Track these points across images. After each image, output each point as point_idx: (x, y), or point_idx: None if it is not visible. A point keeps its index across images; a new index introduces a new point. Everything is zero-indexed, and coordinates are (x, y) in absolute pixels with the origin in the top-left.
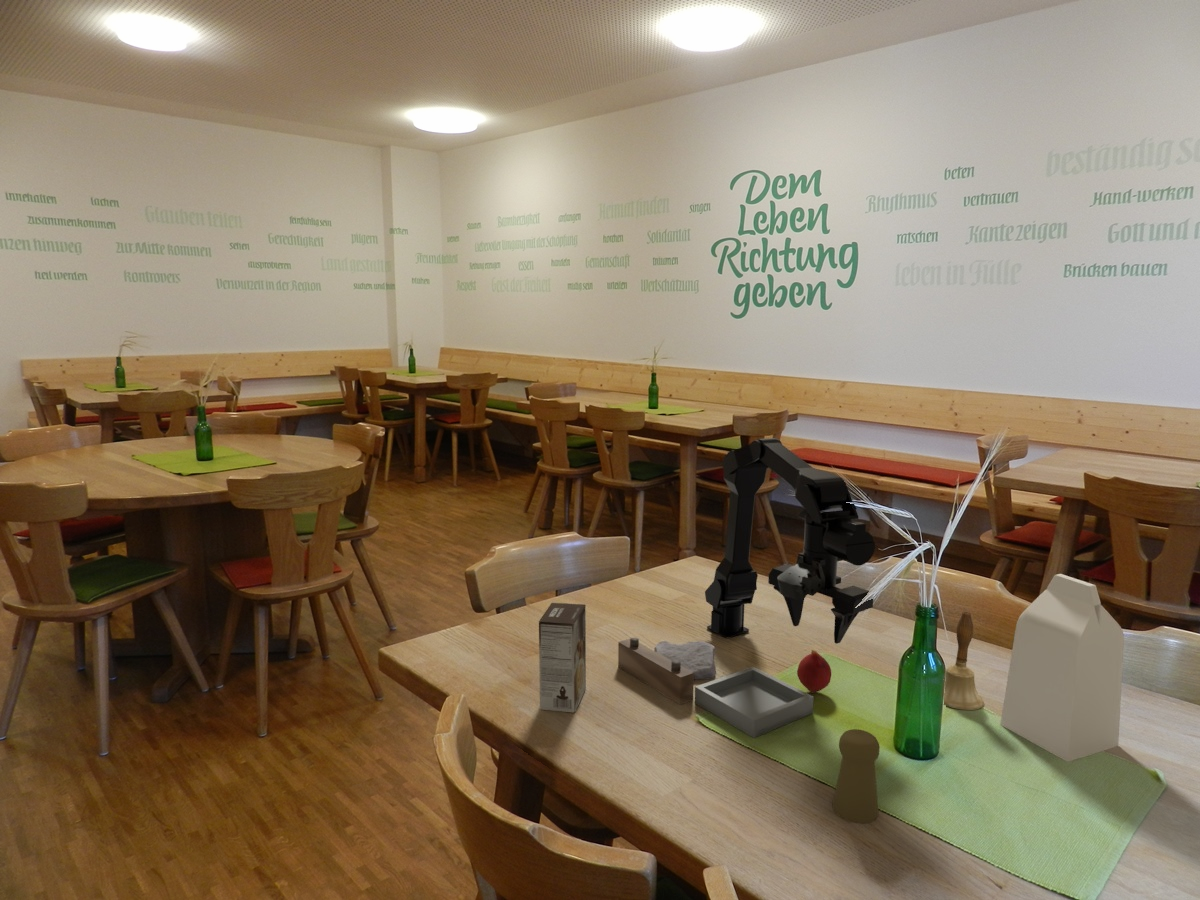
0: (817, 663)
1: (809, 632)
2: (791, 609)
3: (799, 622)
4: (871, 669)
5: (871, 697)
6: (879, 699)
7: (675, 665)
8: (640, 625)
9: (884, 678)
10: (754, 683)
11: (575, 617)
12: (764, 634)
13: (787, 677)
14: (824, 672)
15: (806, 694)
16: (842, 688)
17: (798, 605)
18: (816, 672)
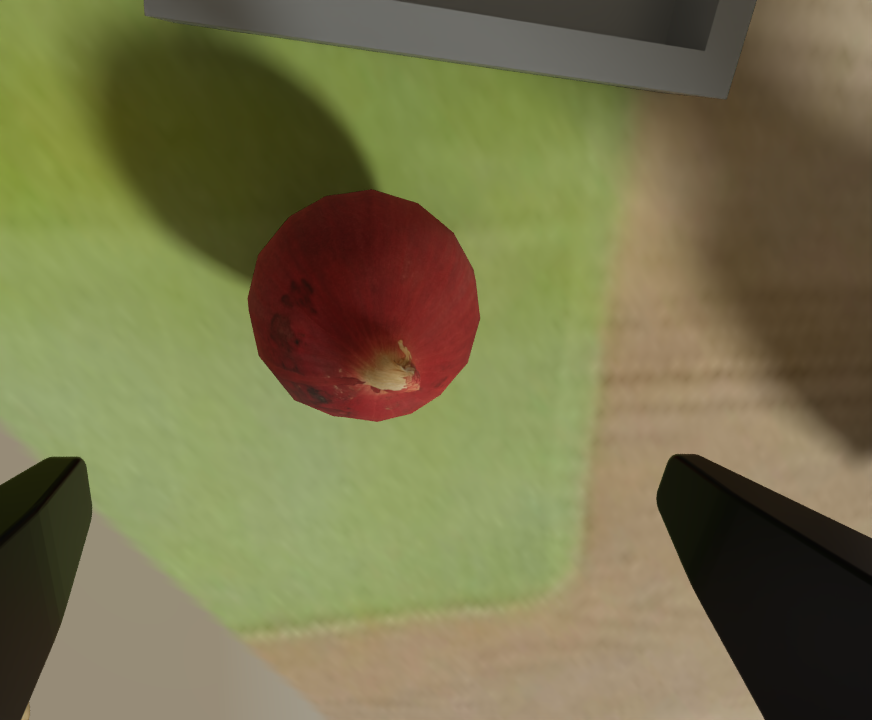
0: (311, 303)
1: (682, 663)
2: (866, 564)
3: (666, 527)
4: (329, 632)
5: (131, 450)
6: (92, 463)
7: None
8: None
9: (237, 618)
10: (634, 18)
11: None
12: None
13: (549, 297)
14: (258, 301)
15: (204, 3)
16: (288, 415)
17: (827, 696)
18: (289, 250)
